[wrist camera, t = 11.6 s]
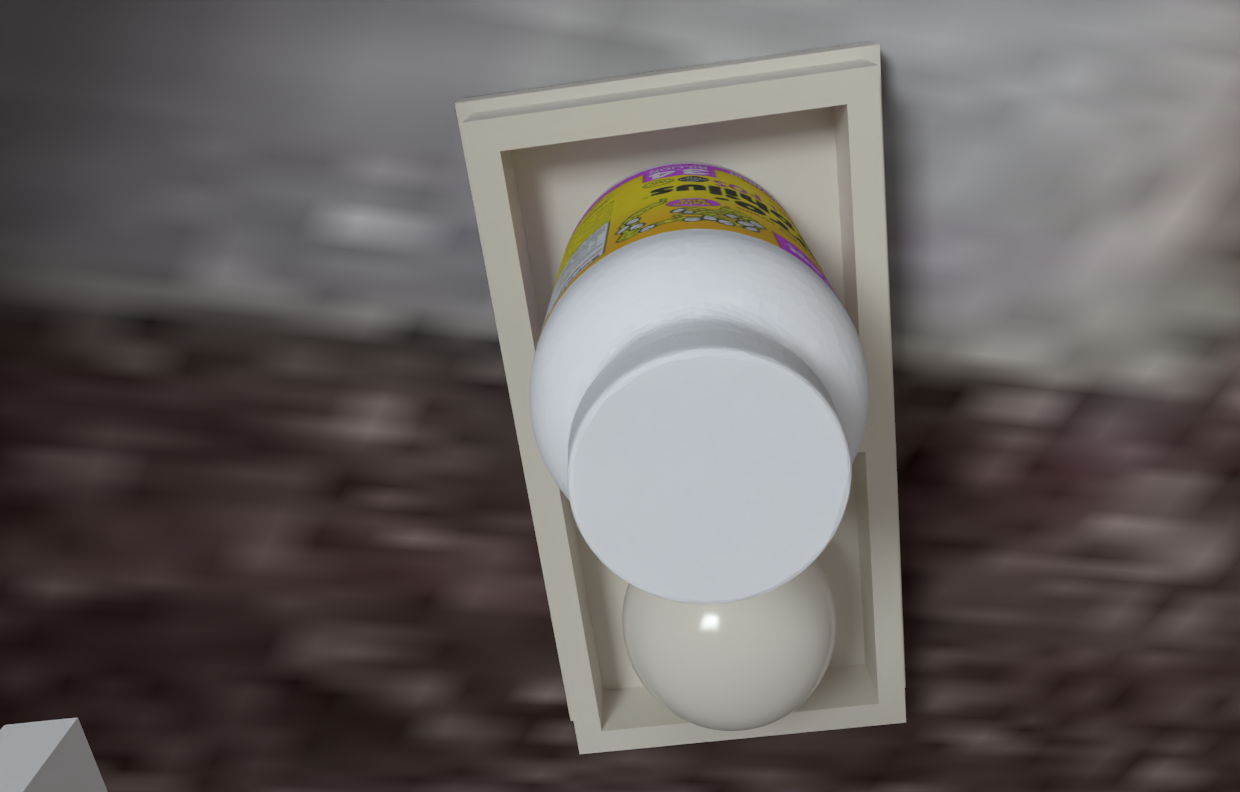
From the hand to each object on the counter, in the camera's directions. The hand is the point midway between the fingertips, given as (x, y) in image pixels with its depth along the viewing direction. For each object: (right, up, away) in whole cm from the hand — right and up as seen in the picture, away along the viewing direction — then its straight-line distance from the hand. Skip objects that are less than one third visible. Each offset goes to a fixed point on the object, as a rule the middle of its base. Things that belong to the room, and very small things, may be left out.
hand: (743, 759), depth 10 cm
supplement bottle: (0, +7, +19) cm, 20 cm away
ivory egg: (+2, -2, +22) cm, 22 cm away
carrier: (+1, +3, +21) cm, 21 cm away
